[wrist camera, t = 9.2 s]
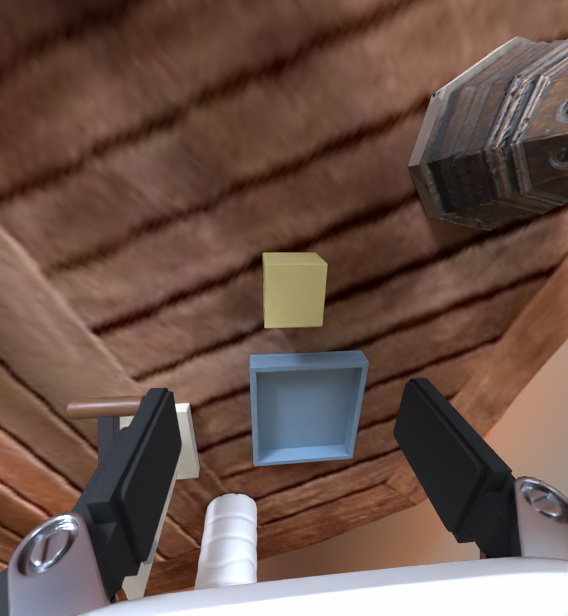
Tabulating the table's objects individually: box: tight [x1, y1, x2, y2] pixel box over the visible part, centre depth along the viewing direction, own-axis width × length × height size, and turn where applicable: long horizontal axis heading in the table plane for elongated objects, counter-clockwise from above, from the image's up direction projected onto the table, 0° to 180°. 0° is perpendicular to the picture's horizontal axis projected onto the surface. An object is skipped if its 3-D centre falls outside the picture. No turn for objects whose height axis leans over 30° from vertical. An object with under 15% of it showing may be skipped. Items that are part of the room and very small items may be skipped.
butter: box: [263, 253, 328, 328], centre depth 21 cm, size 5×4×4 cm
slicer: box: [120, 403, 200, 600], centre depth 23 cm, size 10×8×12 cm
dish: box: [250, 350, 369, 466], centre depth 28 cm, size 13×11×2 cm
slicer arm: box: [67, 395, 145, 465], centre depth 19 cm, size 13×5×2 cm, turn 179°
